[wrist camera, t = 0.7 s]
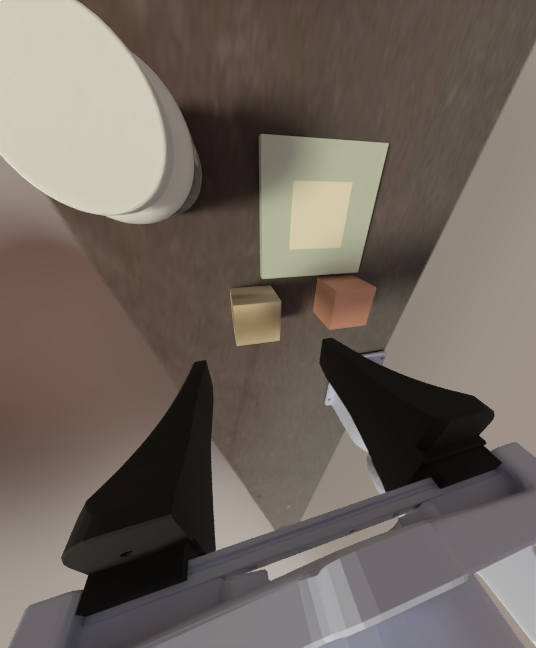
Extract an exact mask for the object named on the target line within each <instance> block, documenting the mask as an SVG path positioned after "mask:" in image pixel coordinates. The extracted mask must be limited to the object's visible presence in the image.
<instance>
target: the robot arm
mask: <svg viewBox="0 0 536 648" xmlns="http://www.w3.org/2000/svg"><path fill="white" fill-rule="evenodd" d="M385 356H386V353H385V352H384V351H380V352H374V353H368V354H362V355H361V354H359V353H357V352H355V351H354V350H352V349H350V348H349V347H347V346H345V345H343V344H342V343H340V342H338V341H337V340H335V339H333V338H327V339H323V340H322V348H321V355H320V363H319V364H320V366H321V368H322V370H323V372H324V374H325V376H326V378H327V380H328V381H329V385H328V390H327V394H326V398H325V405H332V407H333V408H334V410H335V412H336V414H337V415H338V417H339V419H340V420H341V422H342V424H343V426H344V427H345V429H346V431H347V432H348V434H349V436H350V438H351V439H352V440H353V442H355V444H356V445H358V446H359V447H360V448H362V449H363V450H365V451H366V452H369V455H368V456H367V467H368V471H369V474H370V477H371V479H372V481H373V483H374V485H375V487H376V488H377V490H378V491H379V493H380V495H378V496H374V497H372V498H369V499H366V500H363V501H360V502H357V503H354V504H351V505H348V506H345V507H343V508H339V509H337V510H334V511H331V512H328V513H325V514H322V515H319V516H316V517H313V518H310V519H308V520H305V521H302V522H299V523H296V524H293V525H290V526H287V527H284V528H281V529H278V530H276V531H273V532H270V533H267V534H264V535H261V536H258V537H255V538H252V539H249V540H246V541H244V542H241V543H238V544H235V545H232V546H229V547H226V548H223V549H220V550H218V551H215V550H216V546H215V531H214V515H213V494H212V471H211V433H212V417H213V385H212V381H211V377H210V373H209V370H208V366H207V362H206V360H204V361H198V362H195V363H194V364H193V366H192V368H191V370H190V372H189V375H188V377H187V379H186V381H185V382H184V384H183V386H182V388H181V390H180V391H179V393H178V395H177V397H176V398H175V400H174V401H173V403H172V405H171V406H170V408H169V409H168V411H167V412H166V414H165V415H164V417H163V418H162V420H161V421H160V422H159V424H158V425H157V426H156V427H155V429H154V430H153V431H152V432H151V434H150V435H149V436H148V437H147V439H146V440H145V441H144V442H143V443H142V445H141V446H140V447H139V448H138V449H137V450H136V452H135V453H134V454H133V455H132V456H131V457H130V458H129V459H128V460H127V461H126V462H125V464H124V465H123V466H122V467H121V468H120V469H119V470H118V471H117V472H116V473H115V474H114V475H113V476H112V477H111V478H110V479H109V480H108V481H107V482H106V483H105V484H104V485H103V486H102V487H101V488H100V489H99V490H97V491H96V493H94V494H93V495H92V496H91V497H90V498H89V499H88V500H87V501H86V503H85V505H84V507H83V509H82V511H81V513H80V515H79V517H78V519H77V521H76V524H75V526H74V528H73V531H72V533H71V535H70V538H69V540H68V542H67V545H66V547H65V550H64V552H63V554H62V557H61V558H62V562H63V564H64V565H65V566H67V567H68V568H71V569H74V570H76V571H79V572H82V573H85V574H87V575H88V578H87V581H86V584H85V587H84V590H77V591H71V592H68V593H65V594H62V595H59V596H56V597H53V598H50V599H47V600H44V601H41V602H38V603H35V604H32V605H30V606H29V607H28V608H27V609H26V610H25V611H24V613H23V616H22V618H21V620H20V622H19V624H18V627H17V629H16V631H15V633H14V635H13V637H12V640H11V642H10V644H9V646H8V648H525V647H524V645H523V644H522V642H521V641H520V640H519V638H518V637H517V635H516V634H515V633H514V631H513V629H512V628H511V627H510V625H509V624H508V622H507V621H506V619H505V618H504V617H503V615H502V614H501V612H500V611H499V609H498V608H497V607H496V605H495V604H494V602H493V601H492V599H491V598H490V597H489V595H488V594H487V592H486V591H485V589H484V588H483V587H482V585H481V584H480V583H479V581H478V580H477V578H476V577H475V575H474V573H478V574H479V575H480V576H481V577H482V578H483V580H484V581H485V582H486V583H487V585H488V586H489V587H490V589H491V590H492V591H493V593H494V594H495V595H496V596H497V597H498V599H499V600H500V602H501V603H502V604H503V605H504V607H505V608H506V609H507V611H508V612H509V613H510V614H511V616H512V617H513V618H514V620H515V621H516V622H517V623H518V625H519V626H520V627H521V629H522V630H523V631H524V633H525V634H526V635H527V636H528V638H529V639H530V640H531V642H532V643H533V644H534V645H535V647H536V547H535V546H534V543H536V457H534V456H533V455H532V454H531V453H529V452H528V451H527V450H525V449H524V448H523V447H522V446H520V445H519V444H518V443H516V442H513V443H510V444H507V445H504V446H501V447H498V448H496V449H494V450H492V451H491V452H490V451H489V450H488V449H487V448H486V447H484V446H483V445H485V444H486V442H485V440H483V439H482V438H481V437H480V436H479V435H480V433H481V432H482V431H483V430H484V429H485V428H486V427H487V426H488V425H489V424H490V423H491V421H492V420H493V418H494V411H493V410H492V409H490V408H489V407H488V406H486V405H485V404H484V403H482V402H481V401H480V400H478V399H477V398H476V397H474V396H472V395H468V394H464V393H460V392H456V391H452V390H448V389H444V388H441V387H437V386H434V385H431V384H427V383H424V382H421V381H418V380H415V379H413V378H410V377H407V376H405V375H402V374H399V373H397V372H395V371H393V370H390V369H388V368H386V367H384V366H382V364H383V361H384V358H385ZM397 516H398V517H399V519H398V522H397V523H396V525H395V526H394V527H393V528H392V529H390V530H389V531H388V532H385V533H383V534H380V535H377V536H374V537H371V538H369V539H366V540H364V541H361V542H358V543H356V544H353V545H351V546H349V547H346V548H344V549H341V550H339V551H336V552H334V553H332V554H329V555H327V556H325V557H323V558H320V559H318V560H316V561H314V562H311V563H309V564H307V565H305V566H303V567H300V568H298V569H296V570H294V571H292V572H290V573H287V574H285V575H283V576H281V577H279V578H277V579H274V580H272V581H270V580H269V579H268V574H267V571H266V570H265V569H264V570H259V571H255V572H250V571H252V570H255V569H258V568H261V567H263V566H266V565H269V564H271V563H274V562H277V561H279V560H282V559H285V558H288V557H290V556H293V555H296V554H298V553H301V552H303V551H306V550H309V549H312V548H314V547H317V546H319V545H322V544H325V543H328V542H330V541H333V540H335V539H338V538H341V537H344V536H347V535H349V534H352V533H354V532H357V531H360V530H362V529H365V528H368V527H370V526H373V525H376V524H379V523H381V522H384V521H387V520H389V519H392V518H395V517H397ZM247 572H250V573H247ZM245 573H246V574H245Z"/></svg>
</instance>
